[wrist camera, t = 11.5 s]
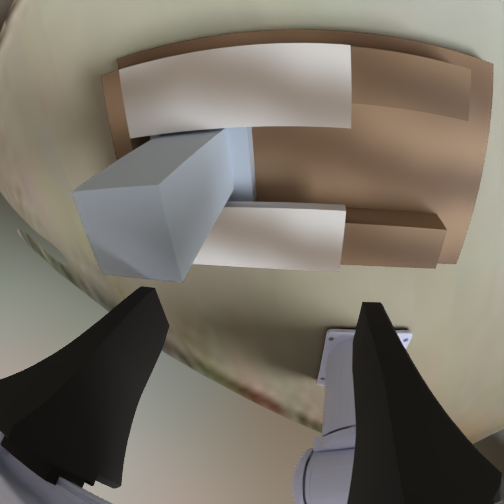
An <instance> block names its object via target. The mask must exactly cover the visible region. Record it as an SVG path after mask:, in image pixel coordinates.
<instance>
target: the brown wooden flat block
mask: <svg viewBox="0 0 504 504" xmlns="http://www.w3.org/2000/svg"><path fill="white" fill-rule="evenodd" d="M117 61H118V69H119V70H117V71H113V72H110V73H107V74H104V75H101V78H102V85H103V91H104V97H105V103H106V109H107V114H108V120H109V125H110V130H111V135H112V140H113V144H114V149H115V153H116V158H117V160H119V159H120V158H122V157H123V156H125V155H126V154H128V153H130V152H131V151H133V150H135V149H136V148H138V147H140V146H141V145H143V144H145V143H146V142H148V141H150V135H158V134H166V133H174V132H183V131H193V130H205V129H218V128H235V127H252V139H253V153H254V166H255V180H256V194H257V197H256V200H255V202H247V201H227V202H226V204H225V206H224V208H223V209H222V211H221V213H220V215H219V216H218V218H217V220H216V222H215V224H214V225H213V227H212V229H211V231H210V233H209V234H208V236H207V238H206V240H205V242H204V243H203V245H202V247H201V249H200V251H199V253H198V254H197V256H196V258H195V260H194V262H193V264H203V265H219V266H236V267H253V268H271V269H290V270H310V271H331V272H339V270H340V264H341V265H363V266H386V267H410V268H436V265H437V263H440V264H456V263H457V260H458V258H459V255H460V252H461V249H462V246H463V243H464V240H465V237H466V234H467V231H468V227H469V224H470V220H471V217H472V213H473V210H474V206H475V202H476V198H477V194H478V190H479V186H480V181H481V176H482V172H483V166H484V161H485V155H486V149H487V143H488V136H489V128H490V120H491V109H492V96H493V64H492V63H489V62H487V61H484V60H481V59H478V58H475V57H472V56H469V55H466V54H463V53H460V52H456V51H453V50H449V49H446V48H442V47H438V46H434V45H430V44H426V43H421V42H417V41H412V40H407V39H401V38H395V37H389V36H383V35H375V34H367V33H358V32H346V31H331V30H271V31H256V32H244V33H235V34H226V35H219V36H212V37H205V38H199V39H194V40H188V41H183V42H179V43H174V44H169V45H165V46H161V47H157V48H153V49H149V50H145V51H142V52H138V53H135V54H131V55H128V56H125V57H121V58H118V59H117Z"/></svg>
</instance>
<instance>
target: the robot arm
mask: <svg viewBox="0 0 504 504" xmlns="http://www.w3.org/2000/svg"><path fill="white" fill-rule="evenodd" d="M168 328H169V324H168V321H167V319H166V316H165V313H164V311H163V308H162V306H161V303H160V300H159V298H158V295H157V292H156V290H155V288H151V287H142V286H141V287H140V288H138V289H137V290H136V291H134V292H133V293H132V294H131V295H129V296H128V297H127V298H126V299H124V300H123V301H122V302H121V303H120V304H118V305H117V306H116V307H115V308H114V309H112V310H111V311H110V312H109V313H108V314H106V315H105V316H104V317H103V318H102V319H101V320H100V321H98V322H97V323H95V324H94V325H93V326H92V327H90V328H89V329H88V330H86V331H85V332H84V333H83V334H81V335H80V336H79V337H78V338H76V339H75V340H73V341H72V342H71V343H69V344H68V345H66V346H65V347H63V348H62V349H60V350H59V351H57V352H56V353H54V354H53V355H51V356H49V357H48V358H46V359H44V360H42V361H41V362H39V363H37V364H35V365H33V366H31V367H29V368H27V369H25V370H23V371H21V372H18V373H16V374H14V375H11V376H9V377H6V378H4V379H0V504H112V503H110V502H108V501H106V500H104V499H102V498H100V497H98V496H96V495H94V494H92V493H90V492H88V491H86V490H85V489H83V488H82V487H83V485H84V482H85V483H87V484H89V485H91V486H93V485H94V483H95V480H96V481H98V482H100V483H102V484H105V485H107V486H109V487H111V488H118V487H120V486H121V482H122V472H123V464H124V457H125V451H126V446H127V441H128V437H129V433H130V429H131V425H132V422H133V418H134V415H135V411H136V408H137V405H138V402H139V400H140V397H141V394H142V392H143V390H144V387H145V386H146V383H147V381H148V379H149V377H150V375H151V373H152V370H153V368H154V366H155V364H156V362H157V359H158V357H159V355H160V353H161V350H162V348H163V345H164V342H165V339H166V335H167V332H168ZM411 338H412V332H411V331H410V330H395V329H394V327H393V325H392V323H391V321H390V319H389V317H388V315H387V313H386V311H385V309H384V307H383V305H382V304H381V303H379V302H362V306H361V311H360V315H359V319H358V323H357V327H356V330H351V329H329V330H328V331H327V332H326V338H325V344H324V349H323V354H322V360H321V365H320V370H319V375H318V379H317V384H318V385H325V399H324V415H323V428H322V437H319V438H315V439H314V448H310V449H308V450H306V451H305V452H304V454H303V455H302V457H301V458H300V459H299V461H298V462H297V465H296V468H295V471H294V475H293V482H292V492H293V498H294V501H295V504H499V503H501V502H502V501H503V499H504V493H503V478H502V473H501V472H500V471H499V470H498V469H497V468H496V467H495V466H493V465H492V464H491V463H490V462H489V461H488V460H487V459H486V458H485V457H484V456H483V455H482V454H481V453H480V452H479V451H478V450H477V449H476V448H475V447H474V445H473V444H472V443H471V442H470V441H469V440H468V439H467V438H466V436H465V435H464V434H463V433H462V432H461V430H460V429H459V428H458V427H457V426H456V424H455V423H454V422H453V421H452V420H451V418H450V417H449V416H448V414H447V413H446V412H445V410H444V409H443V408H442V406H441V405H440V404H439V402H438V401H437V399H436V398H435V396H434V395H433V394H432V392H431V391H430V389H429V388H428V386H427V384H426V383H425V381H424V380H423V378H422V376H421V375H420V373H419V372H418V370H417V368H416V367H415V365H414V363H413V361H412V360H411V358H410V356H409V354H408V353H407V351H406V348H407V346H408V344H409V342H410V340H411Z"/></svg>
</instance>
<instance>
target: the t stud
mask: <svg viewBox="0 0 504 504" xmlns="http://www.w3.org/2000/svg"><path fill="white" fill-rule="evenodd" d="M72 195H73V198H74V201H75V204H76V207H77V210H78V213H79V215H80V218H81V221H82V224H83V227H84V229H85V232H86V235H87V237H88V240H89V242H90V245H91V247H92V250H93V252H94V255H95V257H96V260H97V262H98V264H99V267H100V269H101V271H102V274H106V275H114V276H123V277H133V278H142V279H152V280H162V281H173V282H183V281H184V279H185V277H186V275H187V273H188V271H189V269H190V267H191V266H192V264H193V262H194V260H195V258H196V256H197V254H198V253H199V251H200V249H201V247H202V245H203V243H204V242H205V240H206V238H207V236H208V234H209V233H210V231H211V229H212V227H213V225H214V224H215V222H216V220H217V218H218V216H219V215H220V213H221V211H222V209H223V208H224V206H225V204H226V202H227V201H247V202H255V200H256V197H257V194H256V180H255V166H254V153H253V139H252V127H235V128H218V129H205V130H193V131H183V132H174V133H166V134H158V135H150V141H148V142H146V143H145V144H143V145H141V146H140V147H138V148H136V149H135V150H133V151H131V152H130V153H128V154H126V155H125V156H123V157H122V158H120V159H119V160H117V161H115V162H114V163H112V164H111V165H109V166H108V167H106V168H105V169H103V170H102V171H100V172H99V173H97V174H96V175H95V176H93V177H92V178H90V179H89V180H87V181H86V182H85V183H83V184H82V185H80V186H79V187H78V188H76V189H75V190H74V191H72Z"/></svg>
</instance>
